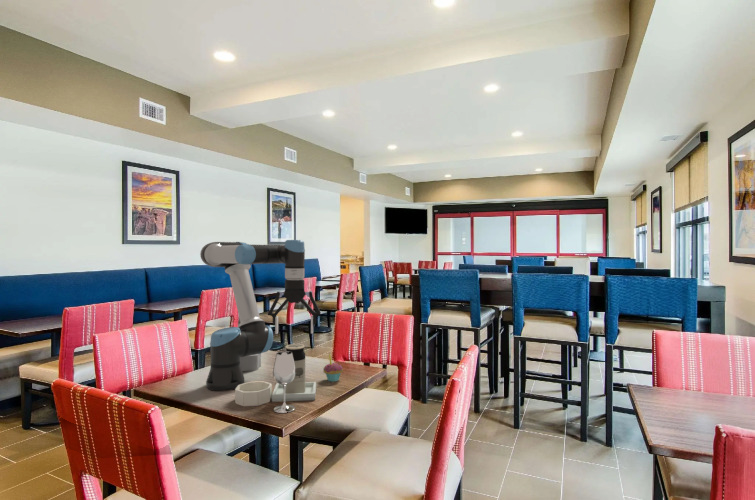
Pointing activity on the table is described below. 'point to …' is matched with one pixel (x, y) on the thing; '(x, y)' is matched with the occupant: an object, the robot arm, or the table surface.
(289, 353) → the wineglass
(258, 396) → the holder
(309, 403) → the table surface
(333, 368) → the cupcake
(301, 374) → the travel mug
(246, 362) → the lumpy-topped squat cylinder
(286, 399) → the tray
